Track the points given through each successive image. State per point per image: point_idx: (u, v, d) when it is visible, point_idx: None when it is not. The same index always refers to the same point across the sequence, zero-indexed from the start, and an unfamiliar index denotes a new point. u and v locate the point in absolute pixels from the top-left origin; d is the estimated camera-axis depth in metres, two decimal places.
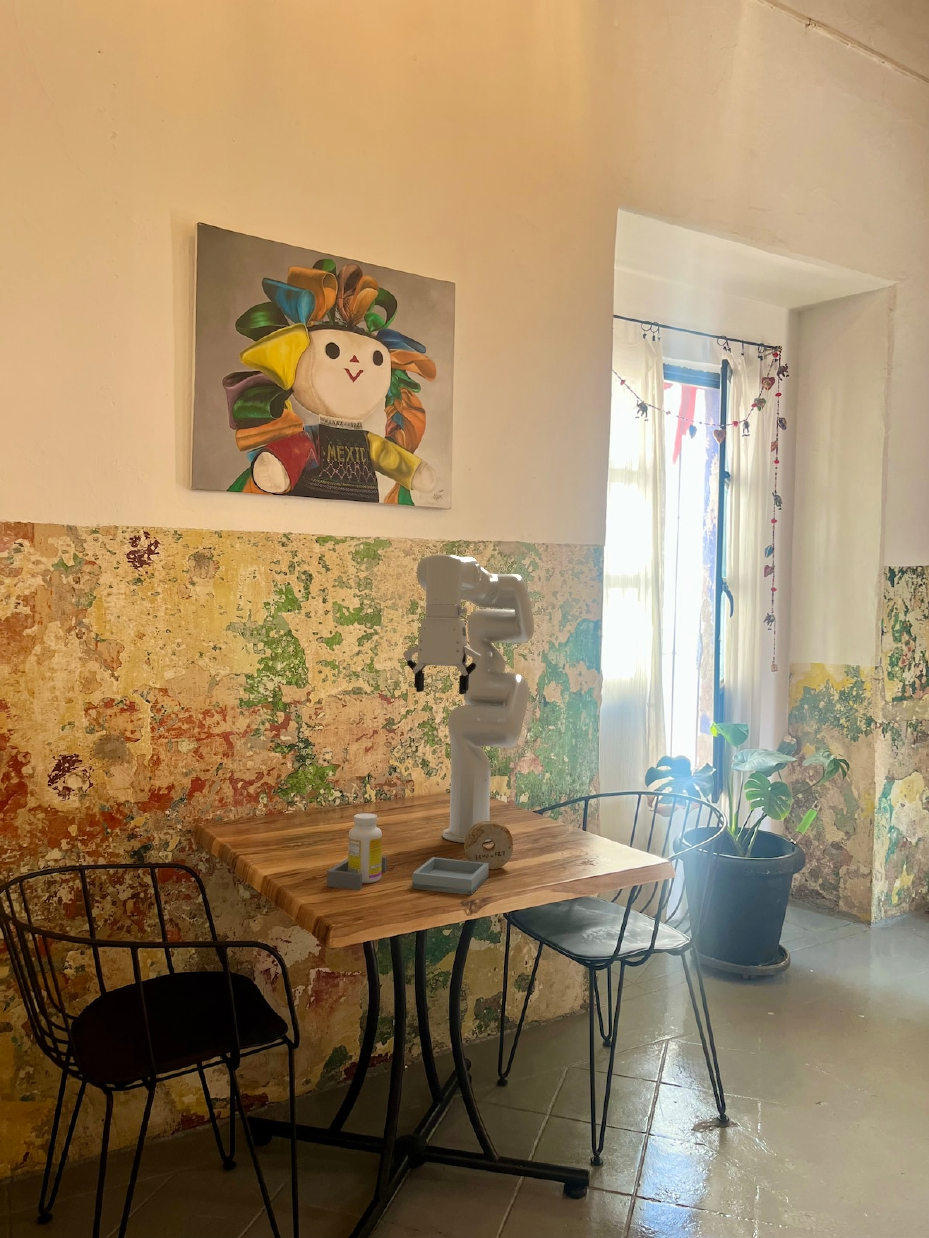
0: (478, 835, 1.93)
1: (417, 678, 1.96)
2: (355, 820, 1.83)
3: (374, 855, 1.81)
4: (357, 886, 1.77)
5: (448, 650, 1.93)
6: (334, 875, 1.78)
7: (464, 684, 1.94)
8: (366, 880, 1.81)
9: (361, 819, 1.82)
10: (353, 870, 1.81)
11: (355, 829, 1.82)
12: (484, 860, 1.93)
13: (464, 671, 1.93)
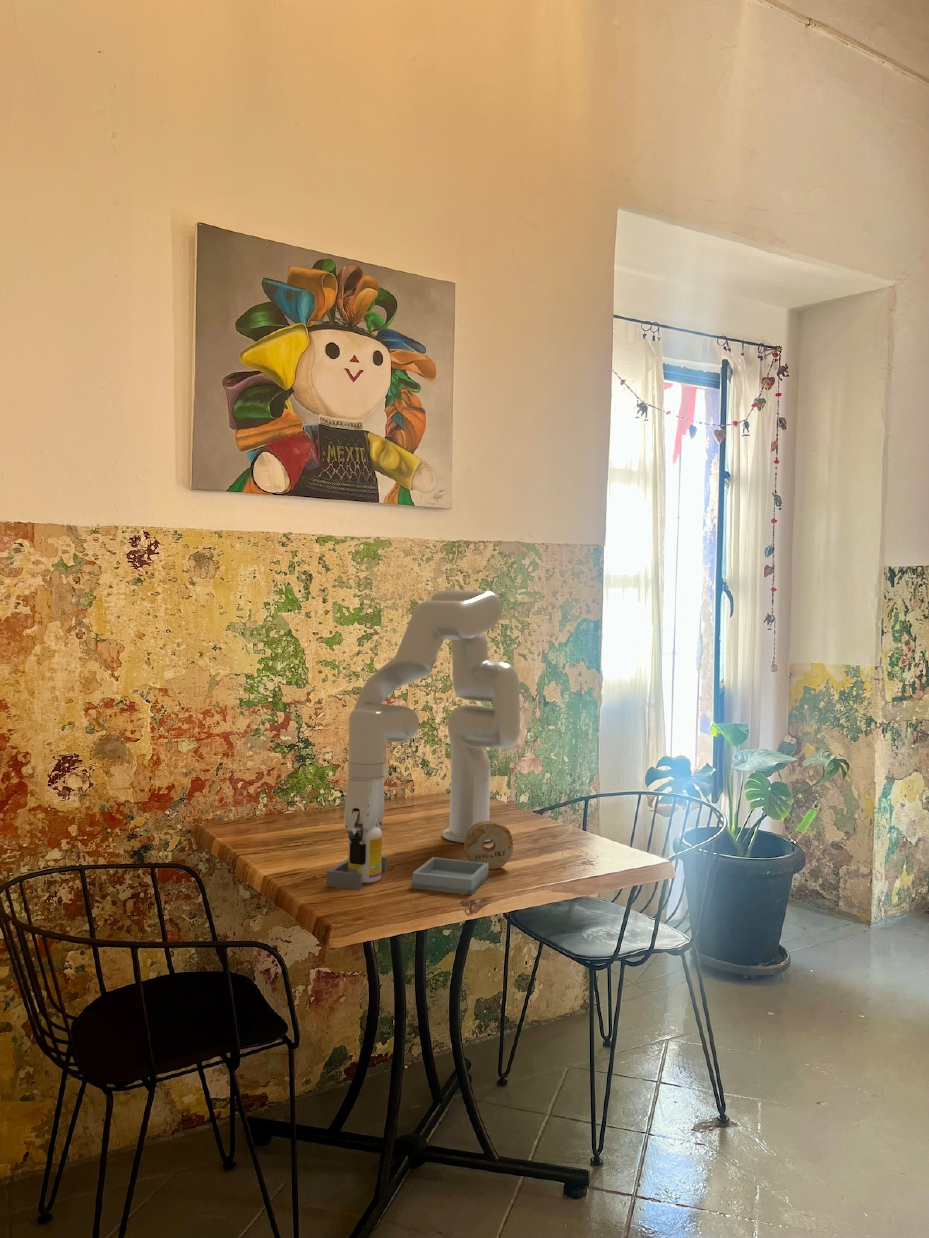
0: (478, 835, 1.93)
1: (365, 849, 1.80)
2: None
3: (374, 855, 1.81)
4: (357, 886, 1.77)
5: (380, 808, 1.85)
6: (334, 875, 1.78)
7: None
8: (366, 880, 1.81)
9: None
10: (353, 870, 1.81)
11: None
12: (484, 860, 1.93)
13: None
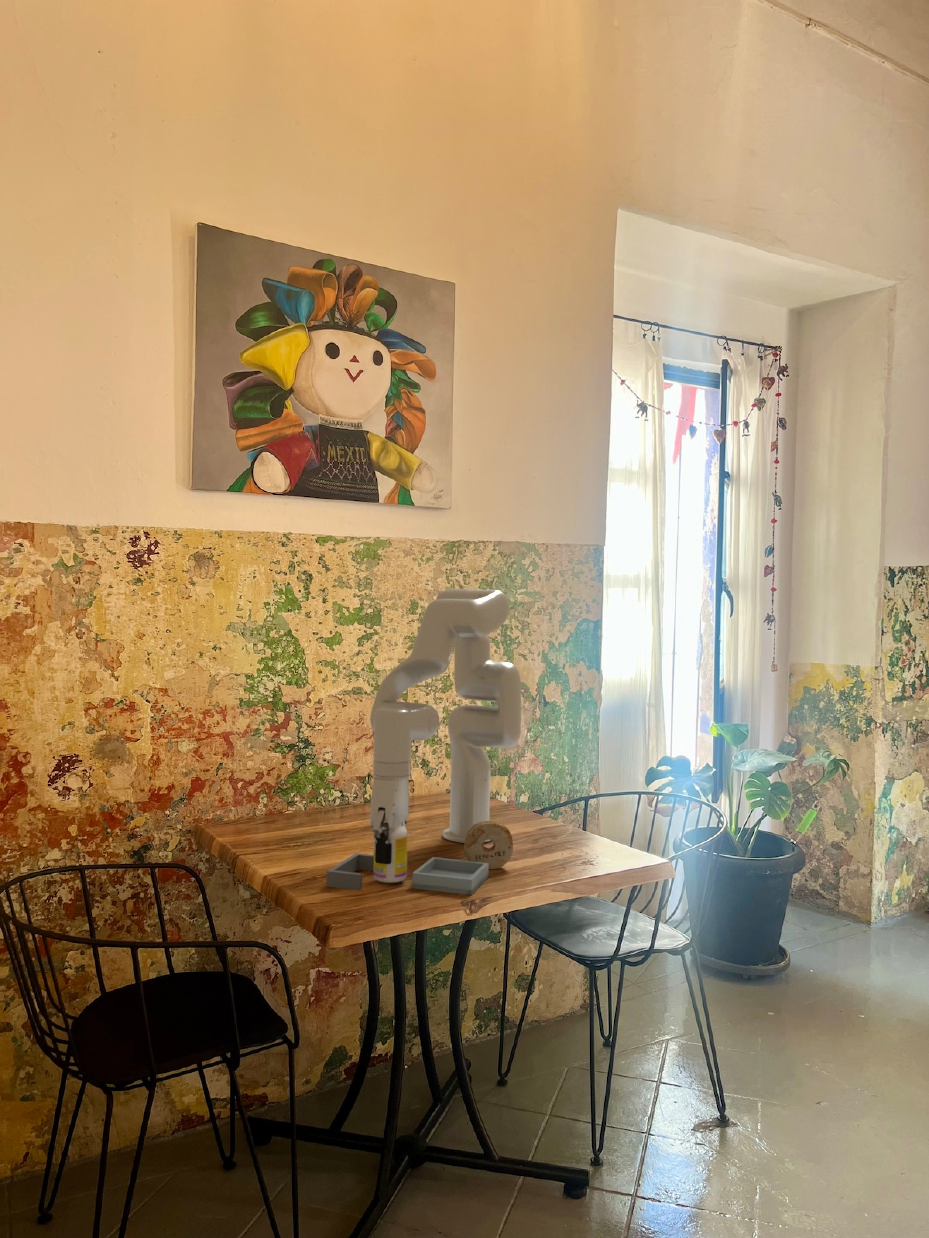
0: (478, 835, 1.93)
1: (391, 849, 1.79)
2: None
3: (400, 854, 1.80)
4: (357, 886, 1.77)
5: (406, 807, 1.84)
6: (334, 875, 1.78)
7: None
8: (391, 880, 1.79)
9: None
10: (378, 870, 1.80)
11: None
12: (484, 860, 1.93)
13: None
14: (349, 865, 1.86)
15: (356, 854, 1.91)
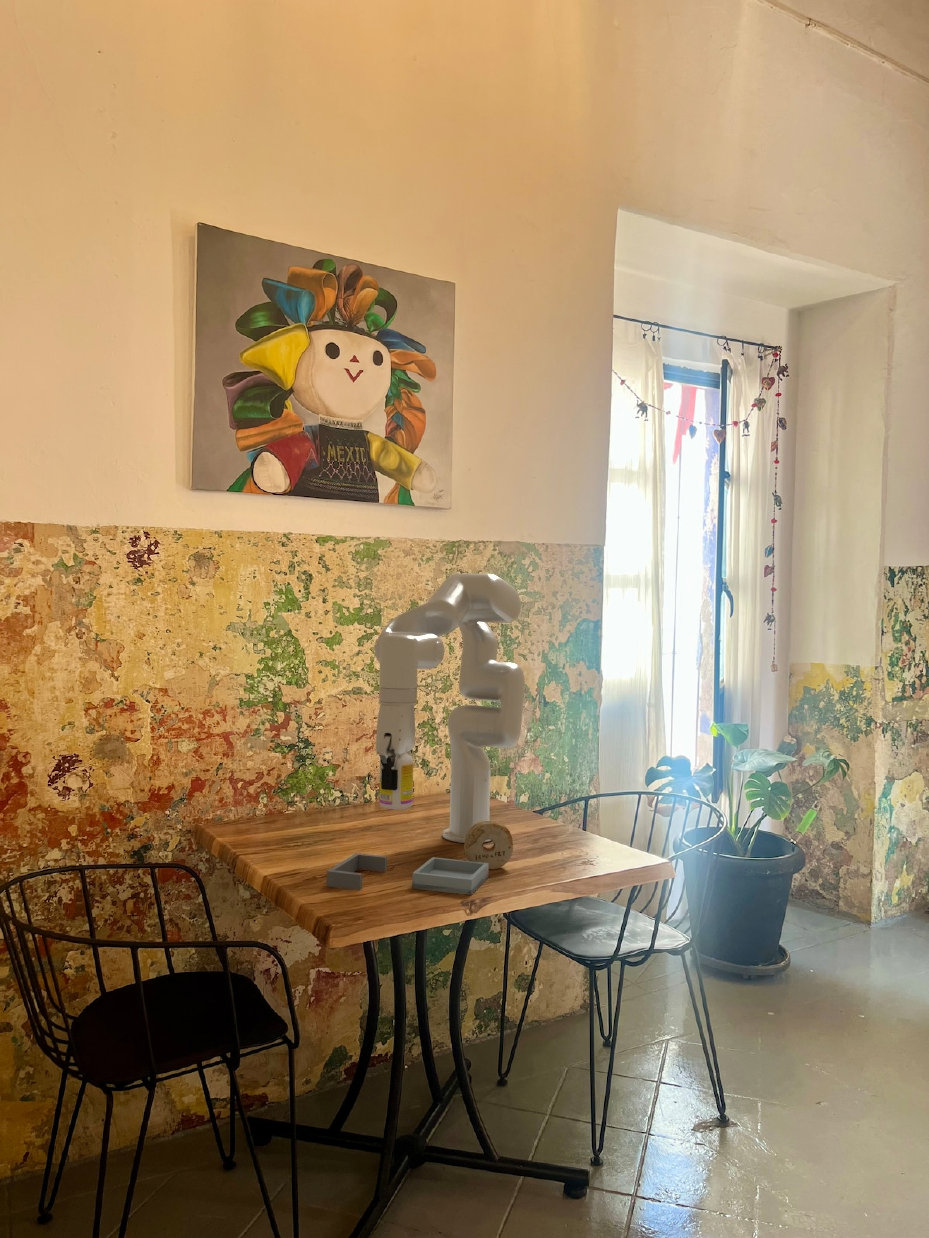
0: (478, 835, 1.93)
1: (397, 775, 1.78)
2: None
3: (406, 781, 1.80)
4: (357, 886, 1.77)
5: (412, 735, 1.83)
6: (334, 875, 1.78)
7: None
8: (397, 807, 1.79)
9: None
10: (384, 797, 1.80)
11: None
12: (484, 860, 1.93)
13: None
14: (349, 865, 1.86)
15: (356, 854, 1.91)
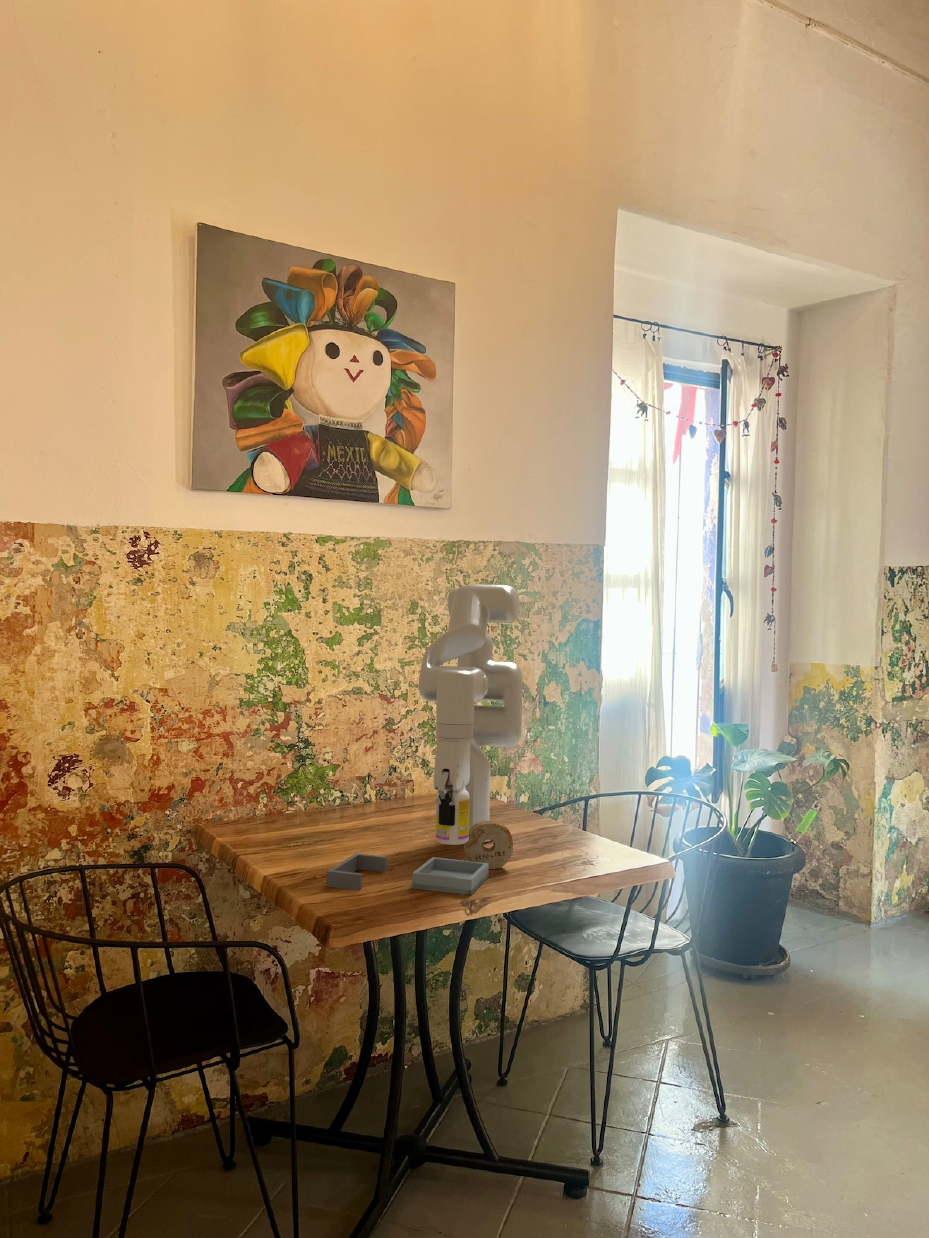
0: (478, 835, 1.93)
1: (454, 810, 1.79)
2: None
3: (463, 816, 1.80)
4: (357, 886, 1.77)
5: (467, 770, 1.84)
6: (334, 875, 1.78)
7: None
8: (455, 842, 1.79)
9: None
10: (442, 832, 1.80)
11: None
12: (484, 860, 1.93)
13: None
14: (349, 865, 1.86)
15: (356, 854, 1.91)
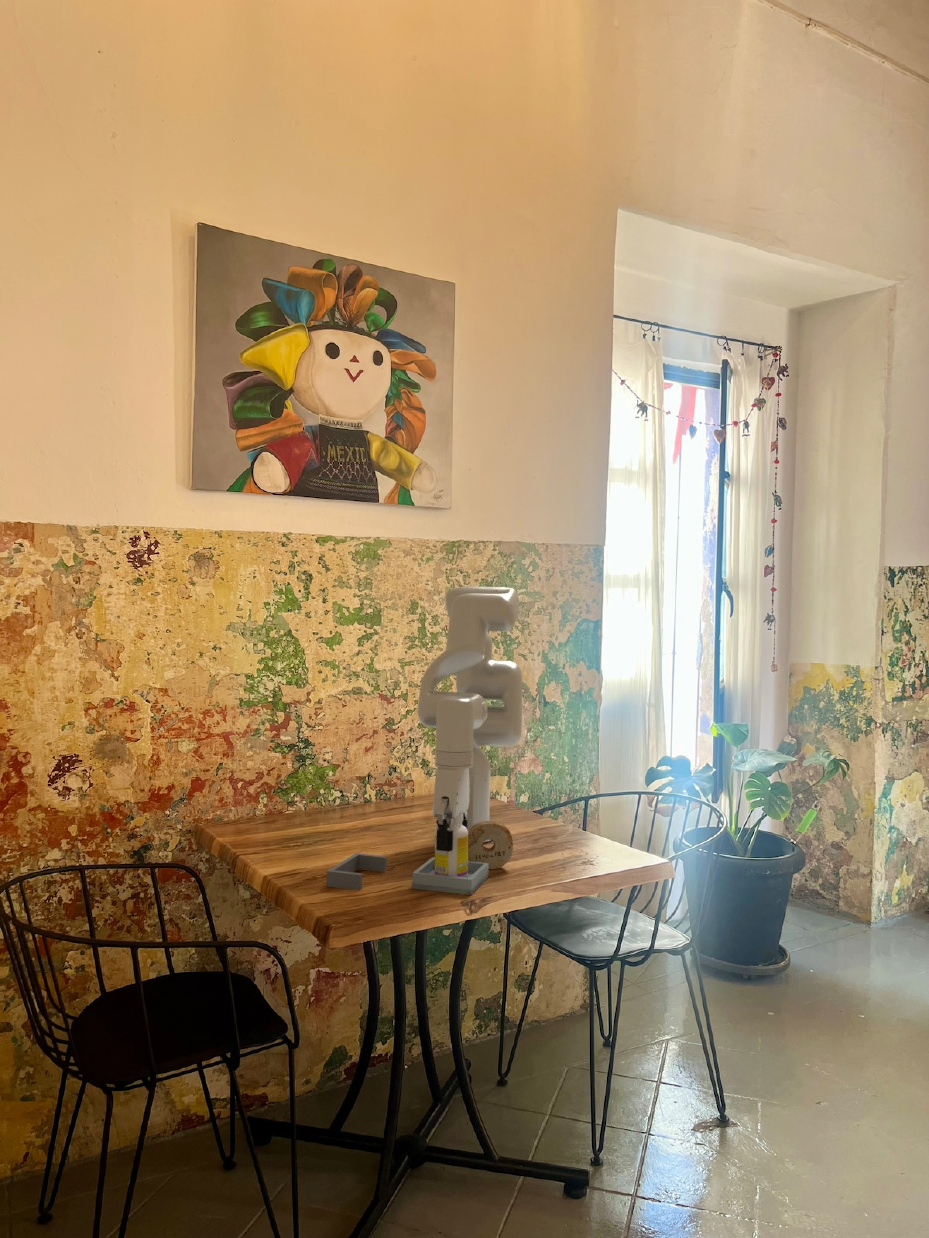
0: (478, 835, 1.93)
1: (452, 836, 1.78)
2: None
3: (462, 853, 1.80)
4: (357, 886, 1.77)
5: (467, 796, 1.84)
6: (334, 875, 1.78)
7: None
8: None
9: None
10: (440, 869, 1.80)
11: None
12: (484, 860, 1.93)
13: (466, 815, 1.88)
14: (349, 865, 1.86)
15: (356, 854, 1.91)
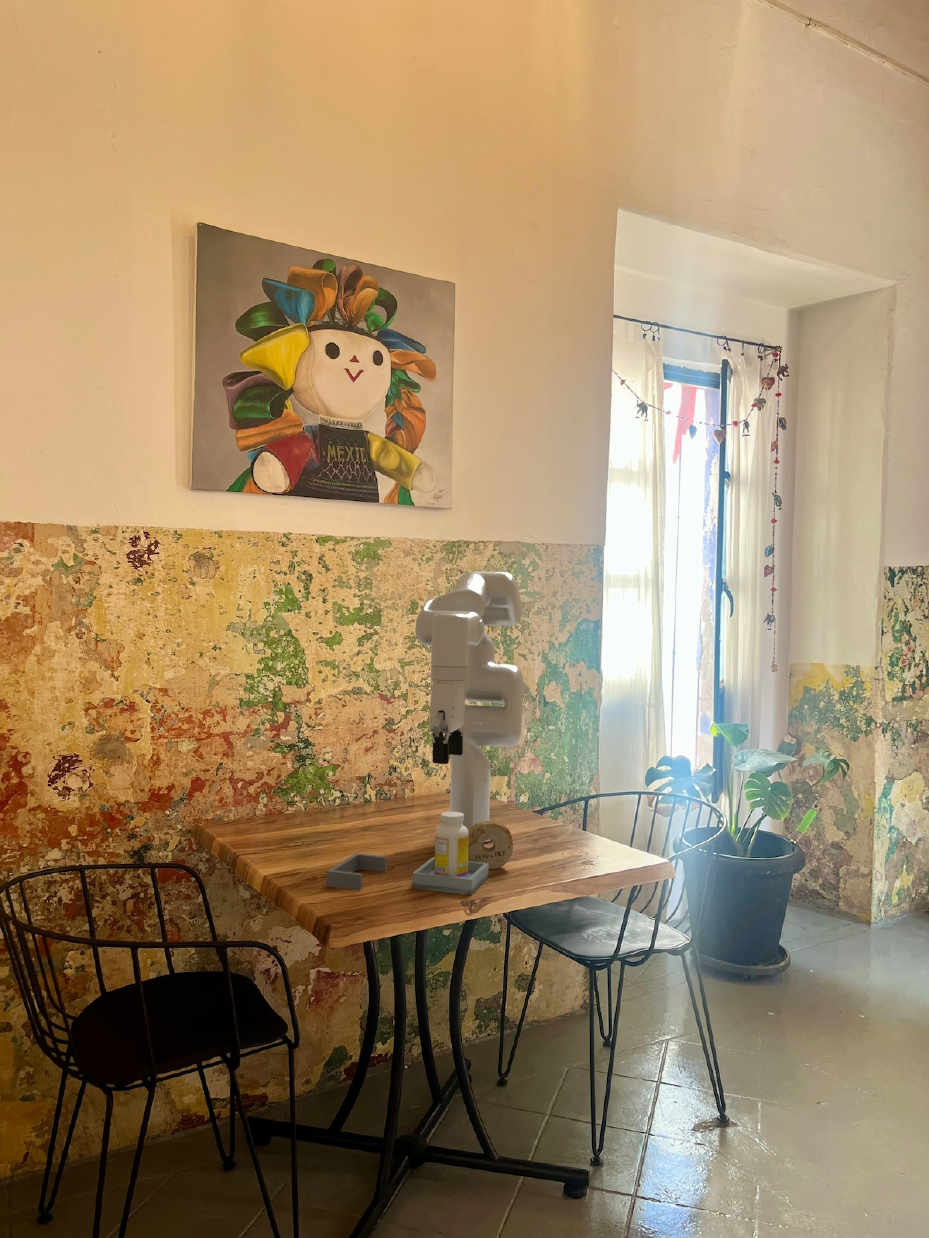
0: (478, 835, 1.93)
1: (448, 749, 1.80)
2: (442, 818, 1.81)
3: (462, 853, 1.80)
4: (357, 886, 1.77)
5: (462, 712, 1.86)
6: (334, 875, 1.78)
7: None
8: None
9: (448, 817, 1.80)
10: (440, 869, 1.80)
11: (442, 828, 1.81)
12: (484, 860, 1.93)
13: (461, 731, 1.90)
14: (349, 865, 1.86)
15: (356, 854, 1.91)
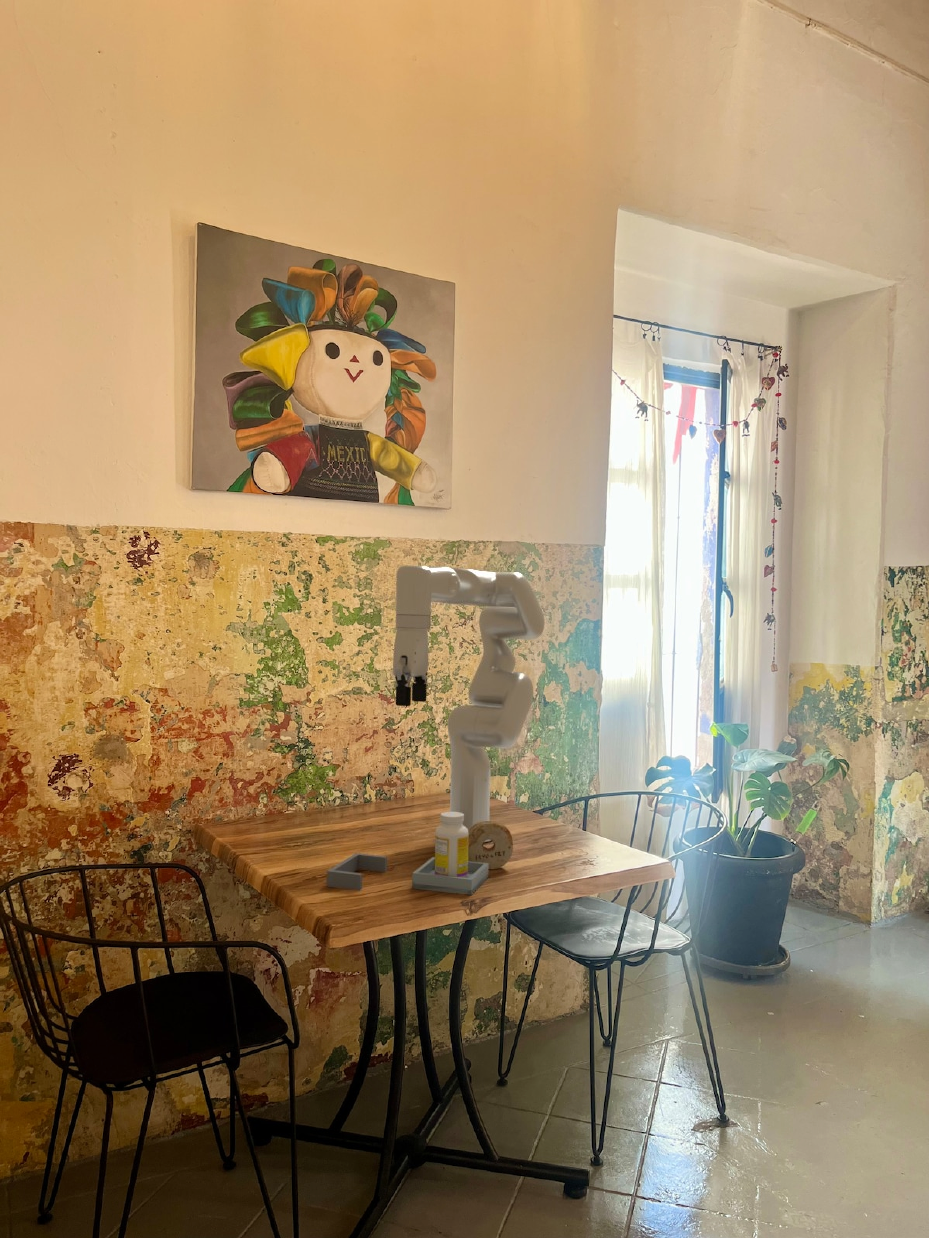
0: (478, 835, 1.93)
1: (410, 692, 1.91)
2: (442, 818, 1.81)
3: (462, 854, 1.80)
4: (357, 886, 1.77)
5: (425, 660, 1.97)
6: (334, 875, 1.78)
7: None
8: None
9: (449, 817, 1.80)
10: (440, 869, 1.80)
11: (442, 828, 1.81)
12: (484, 860, 1.93)
13: (425, 679, 2.01)
14: (349, 865, 1.86)
15: (356, 854, 1.91)
